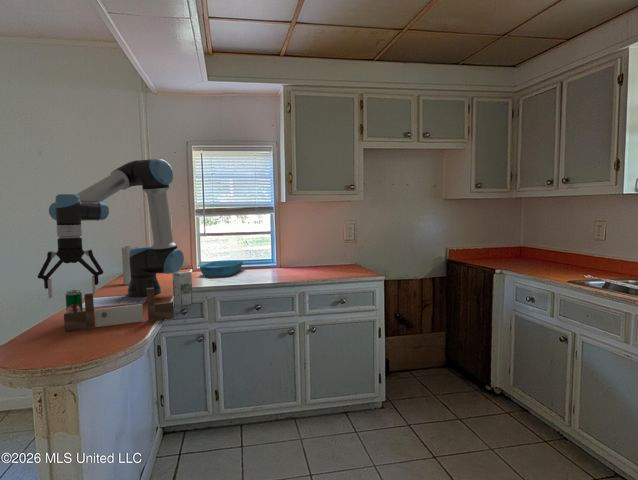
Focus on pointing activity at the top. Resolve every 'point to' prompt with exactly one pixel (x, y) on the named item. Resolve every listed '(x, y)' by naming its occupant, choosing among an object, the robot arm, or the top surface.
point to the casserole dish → (221, 268)
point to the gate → (119, 315)
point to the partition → (87, 318)
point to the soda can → (73, 301)
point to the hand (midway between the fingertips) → (72, 295)
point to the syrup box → (182, 288)
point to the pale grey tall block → (126, 264)
